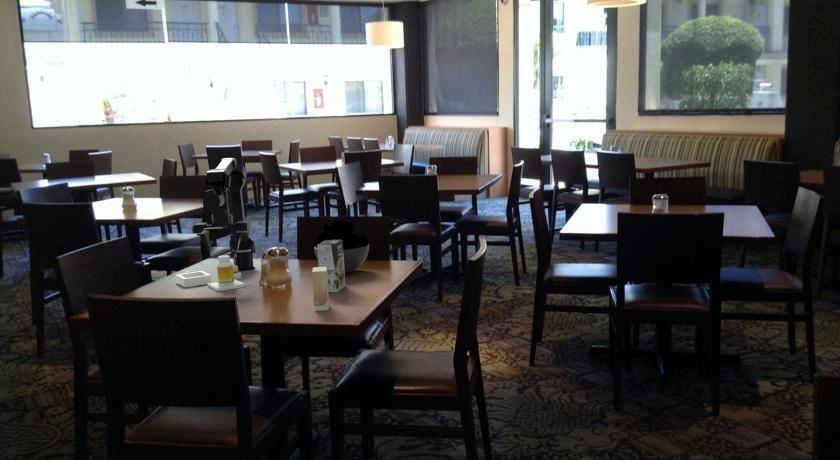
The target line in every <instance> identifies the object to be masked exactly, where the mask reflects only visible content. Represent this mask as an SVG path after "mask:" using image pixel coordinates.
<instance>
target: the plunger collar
mask: <svg viewBox="0 0 840 460" xmlns="http://www.w3.org/2000/svg"><path fill="white" fill-rule="evenodd" d="M233 274H234V279H236V280H238V281H240V280H242V272H241V271H239V270H238V271H236V272H234V273H233ZM216 275H217V274H216ZM216 277H217V278H218V275H217V276H216Z"/></svg>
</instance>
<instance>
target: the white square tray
mask: <svg viewBox="0 0 840 460" xmlns="http://www.w3.org/2000/svg"><path fill="white" fill-rule="evenodd" d="M175 278H176V284H178V285H180V286H181V287H183V288H190V287H197V286H203V285H208V284H209V283H213V282H212V275H211V274H210V273H208V272H206V271H203V270H199V271H192V272H186V273H180V274H176V275H175Z"/></svg>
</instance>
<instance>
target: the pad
mask: <svg viewBox="0 0 840 460" xmlns="http://www.w3.org/2000/svg"><path fill="white" fill-rule="evenodd" d="M207 287H208V288H210V289H212V290H214V291H216V292H223V291H229V290H233V289H240V288H246V283H244V282H242V281H240V280H236V279H234V283H233V284H230V285H219V284H218V281H217V282H216V281H214V282H212V283H209V284H207Z"/></svg>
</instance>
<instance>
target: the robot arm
mask: <svg viewBox="0 0 840 460" xmlns="http://www.w3.org/2000/svg"><path fill="white" fill-rule="evenodd" d="M246 179H247V171H246V168H245V165H243V164H242V163H241V162H238V161H237V158H234V157H226V158H225V157H224V158H222V159H220V163H219V164H218V165H217V167H215V168H214V169H213V168H212V169H209V170H208V171H206V174H205V175H204V182H203V183H204V184H203V192H206V193H207V194H205V196H203V200H202V204H203V207H204V208H205V209H206V210H208V211H210V214H211V221H212V223H211V224H208V222H198V223H197V222H196V223H195V224H193V225H192V226H191V227H192V228H191V231H192V234H196V236H197V237H200V239H201V240H202V242H203V243H204V245H205V247H206V249H207V251H208V253H212V247H211V240H210V231H221V230H222V231H224V230H232V231H231V234H230V236H229V243H228V244H229V250H230V251H229V252H230V255H234V257H232V259H233V262H232V263H233V265H237V266H238V271H239V272H241V271H246V270H253V269H256V266H254V258H253V254H255V253H257V252H256V251H257V249H256V244H255V241H254V239H253V238H252V234H251V231H250V229H251V223H250V221H249V220H246V217H245V208H244V198H243V197H244V196H243V187H244V186H245V184H246ZM228 192H229V195H228ZM228 196H229V197H230V206H231V213H230V208H229V197H228Z"/></svg>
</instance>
